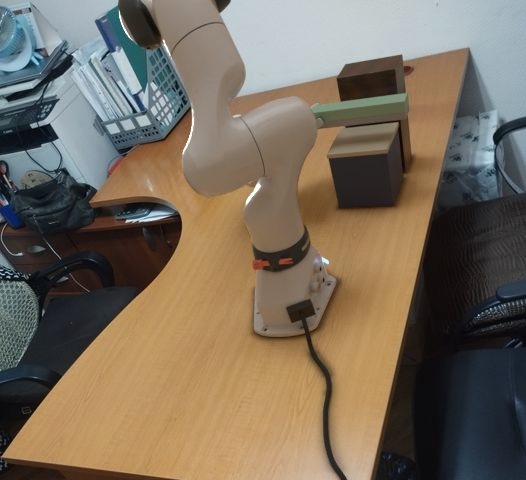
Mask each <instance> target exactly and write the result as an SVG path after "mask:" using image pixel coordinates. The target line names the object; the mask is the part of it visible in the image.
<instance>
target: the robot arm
mask: <svg viewBox="0 0 526 480" xmlns="http://www.w3.org/2000/svg"><path fill="white" fill-rule="evenodd" d="M231 2H232V0H118V1H117V9H118V14H119V15H118V16H119V20H120V23H121V26H122V28H123V30H124V32H125V34H126V35H127V37H128V38H129V39H130V40H131V41H132V42H133V43H134V44H135V45H137V46H138V48H139V49H142V50H145V51H152V50H156V49H159V48H162V45H163V44H164V46H165V49H166V52H167V53H168V55H169V58H170V59H171V62H172V64H173V65H174V67H175V69H176V71H177V74H178V76H179V78H180V81H181V82H182V85H183V87H184V89H185V90H184V91H185V92H186V95H187V97H188V100H189V104H190V109H191V128H190V133H189V137H188V140H187V142H186V145H184V148H183V150H182V154H181V170H182V174H183V176H184V180H185V181H186V183H187V184H188V186H189V187H190V188H191V189H192V190H193V192H195V194H198V195H199V196H200V197H203V198H205V199H212V198H216V197H221V196H224V195H227V194H230V193H233V192H235V191H237V190H240V189H241V188H243V187H245V186H247V187H249V188H253V189H252V190H251V192H250V193H249V194H248V196H247V198H246V199H245V202H244V203H243V209H242V216H243V221H244V224H245V226H246V229H247V231H248V234H249V237H250V240H251V249H252V255H253V257H254V260H252V262H251V267H252V269H253V271H255V287H254V304H253V305H254V307H253V308H254V309H253V330H254V333H256V334H257V335H260V336H263V337H269V338H286V337H295V336H301V335H303V334H304V335H305V338H306V343H307V347H308V350H309V353H310V355H311V357H312V359H313V361H314V362H315V363H316V364H317V366H318V367H319V368H320V369H321V371H322V372H323V375H324V377H325V382H326V383H325V384H326V391H325V396H324V402H323V406H322V407H323V409H322V431H323V432H322V437H323V444H324V449H325V452H326V457H327V459H328V462H329V464H330V466H331V468H332V469H333V470H334V473H336V475H337V476H338V478H339V479H340V480H348V478H347V476H346V475H345V473H344V472H343V470H342V469H341V467H340V466H339V465H338V463H337V462H336V459H335V457H334V454H333V451H332V448H331V443H330V435H329V433H330V432H329V405H330V400H331V395H332V378H331V376H330V375H331V374H330V372H329V370H328V369H327V367H326V366H325V364H324V363H323V362H322V361H321V359H320V358H319V356H318V355H317V353H316V350H315V349H314V345H313V342H312V341H313V340H312V337H311V332H312V331H314V330H316V329H317V328H318V326H319V324H320V322H321V320H322V318H323V316H324V313H325V311H326V308H327V306H328V304H329V302H330V300H331V297H332V295H333V292H334V291H335V289H336V286H337V283H338V282H337V279H336V277H334V276H332V275H330V274H328V270H327V267H326V265H329V264H330V262H329V260H328V259H326V258H324V257H323V255H322V253H321V251H319V250H318V249H317V248H315V246H313V245H312V243H311V236H310V232H309V230H308V227H307V226H306V225H305V223H304V221H303V218H302V217H303V216H302V212H301V209H300V204H299V197H298V194H299V193H298V192H299V191H298V189H299V181H300V177H301V172H302V170H303V166H304V164H305V161H306V160H307V158H308V155H310V152H311V151H312V150H313V148H314V146H315V145H316V142H317V138H318V131H319V130H320V129H319V128H320V127H321V126H323V124H324V122H325V120H324V119H323V117H321V116H320V117H318V118H317V119H316V118H315V115H314V113H313V111H312V108H313V106H314V105H320V104H321V103H320V102H316V103H314V104H312V105H311V106H310V105H309V104H308V103H307V102H306V101H304V100H303V99H302V98H300V97H299V96H296V95H292V96H291V95H290V96H287V97H282V98H277V99H274V100H270V101H268V102H265V103H264V104H262V105H260V106H258V107H256V108H254V109H252V110H250V111H249V110H248V111H247V112H245V113H244V114H240V115H241V116H239V117H232V116H233V115H232V113H231V111H230V106H231V105H232V103H233V102H234V100H235V99H236V98H237V96H238V95H239V94H240V92H241V90H242V89H243V86H244V84H245V81H246V77H247V70H246V65H245V62H244V61H243V58H242V55H241V54H240V51H239V50H238V47H237V46H236V44H235V42H234V39H233V37H232V35H231V33H230V31H229V29H228V27H227V25H226V23H225V21H224V19H223V17H222V15H221V13H222V12H224V10H225V9H227V8H228V6H230V4H231Z"/></svg>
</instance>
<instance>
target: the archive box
mask: <svg viewBox="0 0 526 480" xmlns="http://www.w3.org/2000/svg"><path fill="white" fill-rule="evenodd" d="M398 127H399V123H398V122H395V123H387V124H378V125H369V126H360V127H351V128H345V127H344V128H340V129H339V131H338V133H337V134H336V136H335V138H334V140H333V142H332V143H331V145H330V147H329V149H328V151H327V153H326V159H328V163H329V168H330V173H331V177H332V183H333V188H334V192H335V196H336V201H337V205H338V209H354V208H355V209H356V208H377V207H379V208H380V207H394V206H395V203H396V201H397V198H398V195H399V192H400V189H401V187H402V185H403V181H404V173H403V170H402V161H401V151H400V142H399V133H398Z"/></svg>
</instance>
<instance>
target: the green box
mask: <svg viewBox="0 0 526 480" xmlns="http://www.w3.org/2000/svg"><path fill="white" fill-rule="evenodd" d="M313 105H314V104H313ZM312 111H313V113H314V115H315V118H316V119H317V118H318V117H320V116H321V117H323V119H324V120H325V122H324V124H323V126H321V127H320V128H319V129H318V130H322V129H331V128H341V127H345V126H350V125H359V124H368V123H377V122H386V121H395V120H404V119H406V118H407V115H408V116H409V112H410V101H409V92H406V93H402V94H395V95H387V96H380V97H373V98H365V99H358V100H350V101H343V102H341V101H335V102H330V103H320V105H314V106H313V108H312Z"/></svg>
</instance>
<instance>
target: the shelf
mask: <svg viewBox="0 0 526 480" xmlns="http://www.w3.org/2000/svg"><path fill="white" fill-rule="evenodd" d="M336 84H337V90H338V95H339V100H340V101H339V102H343V101H350V100H358V99H365V98H373V97H380V96H387V95H395V94H402V93H407V89H406V80H405V69H404V58H403V53H402V54H396V55H391V56H384V57H379V58H378V57H377V58H373V59H367V60H361V61H355V62H350V63H345V64H344V66H343V67H342V69H341V70H340V72H339V74H338V75H337V77H336ZM409 121H410V120H409V114H408V115H407V118H406V119H404V120H395V121H386V122H377V123H368V124H359V125H350V126H344V128H351V127H360V126H369V125H378V124H387V123H395V122H398V123H399V127H398V133H399V142H400V151H401V161H402V170H403V174H405V173H407V171H408V167H409V165H410V162H411V161H412V156H413V155H412V144H411V143H412V142H411V133H410V122H409Z"/></svg>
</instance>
